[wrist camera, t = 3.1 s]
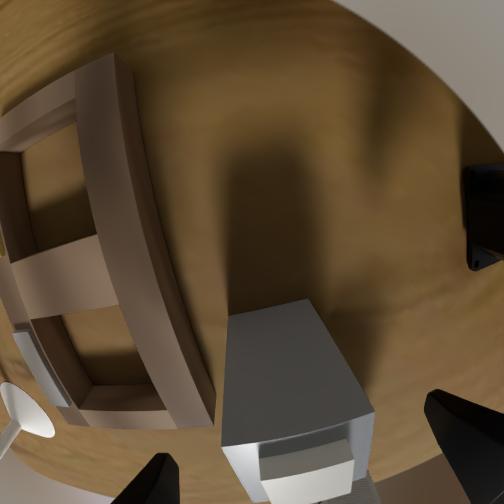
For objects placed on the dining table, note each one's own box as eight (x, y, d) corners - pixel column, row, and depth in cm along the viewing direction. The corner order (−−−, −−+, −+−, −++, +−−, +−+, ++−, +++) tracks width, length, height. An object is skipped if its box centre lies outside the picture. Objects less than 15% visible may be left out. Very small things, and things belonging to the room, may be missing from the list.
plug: (308, 298, 14) (386, 432, 5) (316, 361, 14) (372, 492, 6) (228, 315, 14) (220, 470, 5) (246, 377, 14) (254, 519, 6)
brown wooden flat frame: (132, 71, 11) (110, 48, 8) (216, 395, 15) (213, 431, 12) (-1, 143, 11) (-32, 141, 8) (82, 401, 15) (66, 428, 12)
